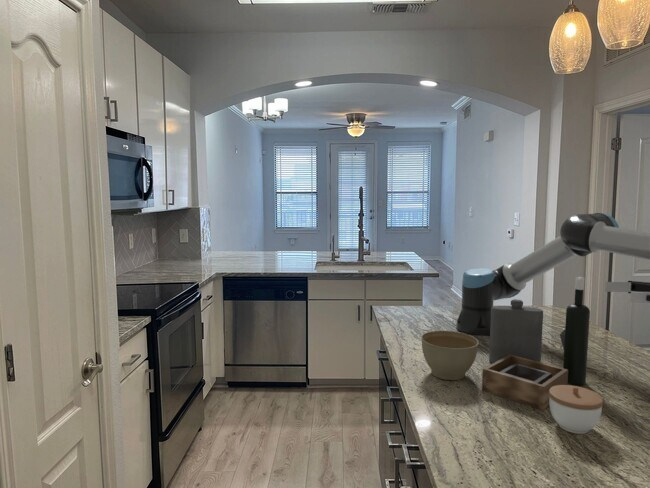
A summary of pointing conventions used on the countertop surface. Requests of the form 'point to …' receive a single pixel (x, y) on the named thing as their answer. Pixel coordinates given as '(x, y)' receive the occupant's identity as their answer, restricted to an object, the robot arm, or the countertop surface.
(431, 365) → the planter bowl
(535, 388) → the crate
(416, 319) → the countertop surface
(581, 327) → the wine bottle
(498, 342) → the flask
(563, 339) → the electrical switch
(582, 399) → the lidded jar
